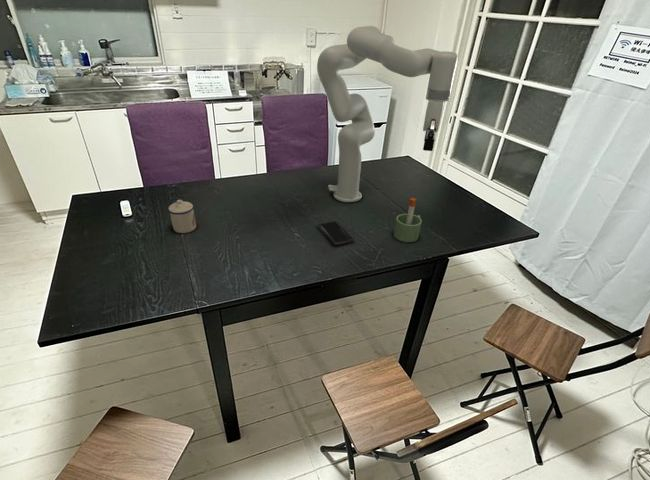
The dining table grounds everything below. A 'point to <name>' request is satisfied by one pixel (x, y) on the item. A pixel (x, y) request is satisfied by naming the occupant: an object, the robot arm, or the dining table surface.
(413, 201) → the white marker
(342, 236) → the phone
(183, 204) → the teacup with lid
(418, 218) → the mug
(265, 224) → the dining table surface
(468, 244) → the dining table surface
